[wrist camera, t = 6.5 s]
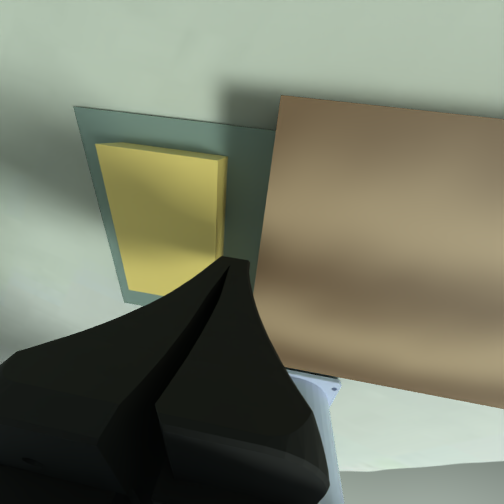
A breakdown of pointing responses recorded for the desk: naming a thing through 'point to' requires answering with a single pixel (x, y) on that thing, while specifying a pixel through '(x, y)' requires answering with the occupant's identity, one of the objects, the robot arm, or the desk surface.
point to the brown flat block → (386, 247)
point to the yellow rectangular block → (164, 212)
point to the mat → (196, 140)
